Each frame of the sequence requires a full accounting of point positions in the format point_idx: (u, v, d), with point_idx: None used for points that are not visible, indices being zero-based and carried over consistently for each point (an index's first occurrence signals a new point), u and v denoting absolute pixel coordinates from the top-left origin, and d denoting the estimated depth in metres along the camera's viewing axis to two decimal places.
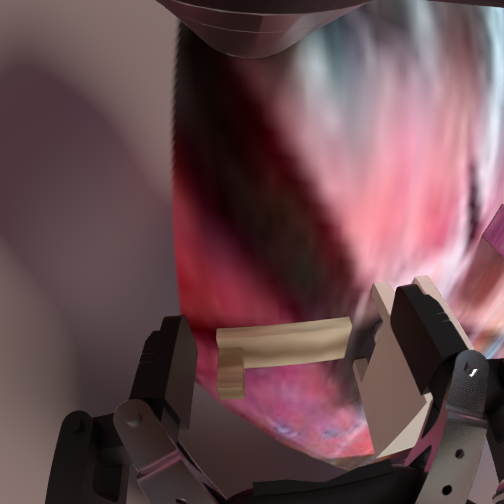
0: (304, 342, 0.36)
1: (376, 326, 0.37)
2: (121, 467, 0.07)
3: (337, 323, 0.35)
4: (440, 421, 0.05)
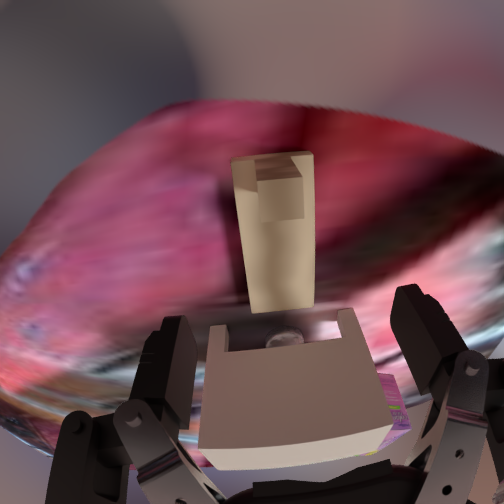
0: (294, 264, 0.29)
1: (292, 329, 0.36)
2: (121, 467, 0.07)
3: None
4: (440, 421, 0.05)
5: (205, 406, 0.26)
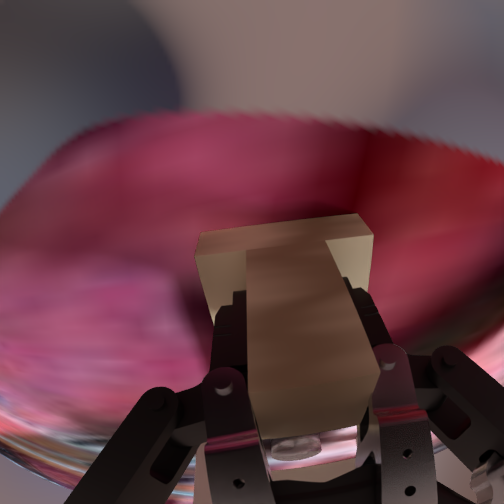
0: None
1: None
2: (188, 451, 0.07)
3: None
4: (373, 427, 0.05)
5: None
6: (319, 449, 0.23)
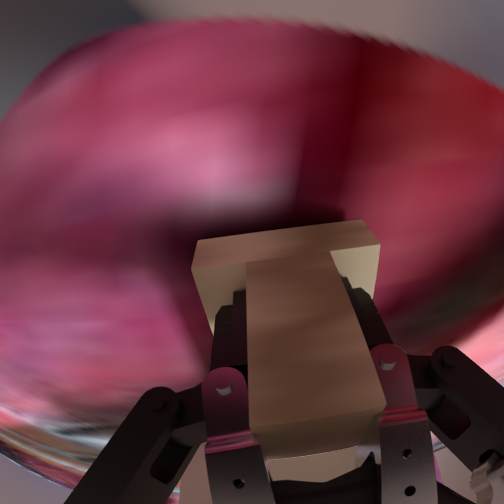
0: None
1: None
2: (188, 451, 0.07)
3: None
4: (372, 427, 0.05)
5: None
6: None
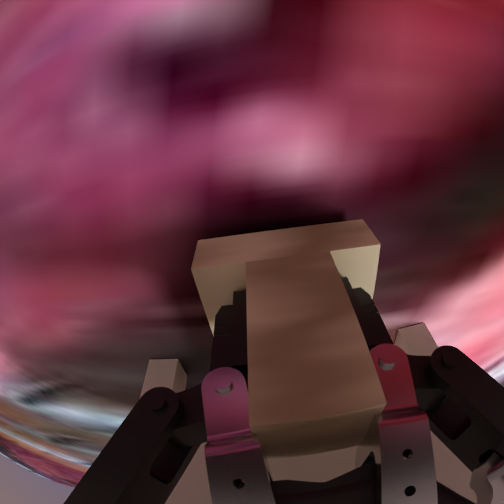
0: None
1: None
2: (188, 451, 0.07)
3: None
4: (372, 427, 0.05)
5: None
6: None
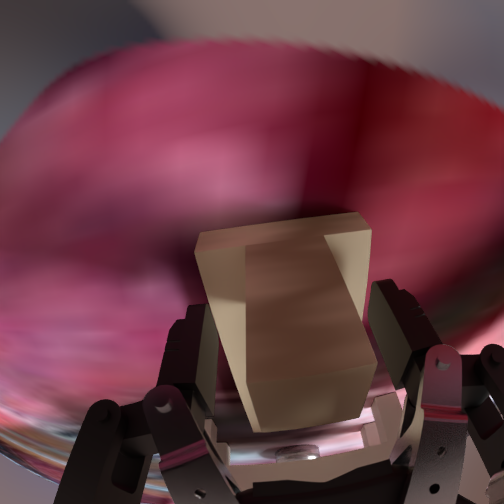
0: None
1: (308, 448, 0.26)
2: (143, 459, 0.07)
3: None
4: (417, 420, 0.05)
5: None
6: None
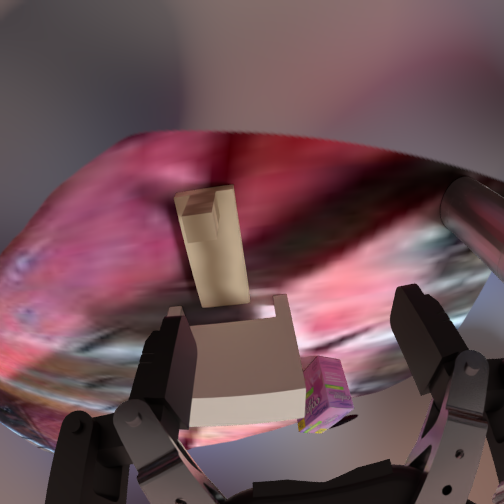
0: (229, 269, 0.39)
1: None
2: (121, 467, 0.07)
3: (248, 290, 0.41)
4: (440, 421, 0.05)
5: None
6: None
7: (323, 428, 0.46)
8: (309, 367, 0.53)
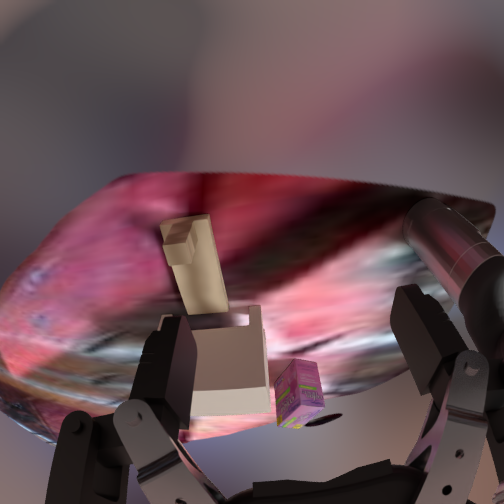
0: (208, 284, 0.45)
1: None
2: (121, 467, 0.07)
3: (226, 300, 0.48)
4: (440, 421, 0.05)
5: None
6: None
7: (299, 424, 0.53)
8: (288, 368, 0.59)
